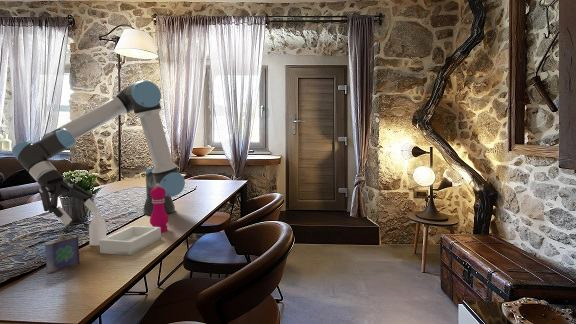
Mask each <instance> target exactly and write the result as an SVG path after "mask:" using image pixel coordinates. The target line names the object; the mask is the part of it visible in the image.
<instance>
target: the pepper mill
mask: <svg viewBox="0 0 576 324" xmlns="http://www.w3.org/2000/svg"><path fill="white" fill-rule="evenodd" d="M150 195H151V197H152V198H153V199H152V203H153V212H152V215H150V218H149V224H150V225H151V227H161V234H162V233H165V232H167V231H168V225H167V224H168V223H169V215H168V214H166V212H165V209H164V202H165V199H164V197H165V195H166V191H165V189H164V188H162V187H160V184H159V183H157V184H156V187H155V188H153V189H152V190H151V193H150Z"/></svg>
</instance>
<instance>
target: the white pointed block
mask: <svg viewBox="0 0 576 324" xmlns="http://www.w3.org/2000/svg"><path fill="white" fill-rule="evenodd" d="M88 231H89V232H88V233H89V246H100V242H99V240H101V239H103V238H106V237H107V222H106V221H105V219H104V218H103V217H102V214H101V211H100V212H98V213H96V215H94V217H93V218H92V219H91V222H90V223H89V225H88Z"/></svg>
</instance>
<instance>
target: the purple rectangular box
mask: <svg viewBox="0 0 576 324" xmlns="http://www.w3.org/2000/svg"><path fill="white" fill-rule="evenodd" d="M79 247H80V245H79V236H78V235H74V234H73V235H67V236H65V235H64V233H62V232H60V233H58V236H57V239H55V240H52V241H48V242H46V243H45V244H44V250H45V262H46V263H45V264H46V266H45V267H46V273H47V274H49V275H51V274H53V273H57V272H60V271H62V270H66V269H68V268H72V267H74V266H77V265H79V264H80V249H79Z"/></svg>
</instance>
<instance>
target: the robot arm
mask: <svg viewBox="0 0 576 324" xmlns="http://www.w3.org/2000/svg"><path fill="white" fill-rule="evenodd" d="M161 99H162V92H161V89H160V88H159V87H158V85H157V84H155V83H154V82H152V81H150V80H139V81H138V80H137V81H136V82H133V83H131V84H129V85H127V86H125V87H124V88H123V89H122V90H120V91H119V92H117V93H115V94H114V95H112V97H111V99H109V100H107V101H106V102H103V103H102V104H100V105H98V106H96V107H95V108H92V109H91V110H89V111H87V112H85V113H84V114H82V115H80V116H78V117H76V118H74V119H72V120H71V121H69V122H67V123H65V124H63V125H61V126H60V127H58V128H56V129H54V130H52V131H51V132H47V133H46V134H44V135H43V136H42V137H41V139H40V140H38V141H36V142H33V141H31V140H23V141H19V142H17V144H15V145H14V146H13V147H12V149H11V153H12V156H14V157H15V159H16V161H18V162H19V163H20V165H21V166H22V167H23V168H24V169H25V170H26V171H27V172H28V174H29V175H30V176H31V177H32V178H33V179H34V180H35V181H36V182H37V184H38V185H39V186H40V188H39V189H38V190H37V192H38V195H40V199H41V203H42V207H43V208H42V209H43V211H44V212H45V213H46V212H48V213H49V214H54V215H55V216H56V218H58V219H59V220H60V221H61V222H62V223H63V224H64V226H69V224H70V223H71V222H72V221H73V220H72V218H71V217H70V216H69V214H68V213H67V212H66V211H65V210H64V209H63V208H62V206H61V205H59V206H58V202H59V197H61V196H67V197H72V198H74V199H76V200H79V201H81V202H84V205H85V207H86V208H87V209H88V210H89V211H90V212H91V213H92V214H93V216H95V215H96V213H98V212H100V213H101V210H100V208H98V206H97V205H96V203H95V202H94V201H93V200H92V198H93V197H94V195H93V193H90V192H89V191H87V190H85V189H84V188H82V187H81V186H79V185H78V184H76V183H75V182H74V181H73V180H70V181H69V182H65V180H64V176H63V175H62V174H61V173H60V172H59V171H58V169H57V168H56V167H55V166H54V165H53V164H52V162H51V161H50V159H52V158H53V157H55V156H57V155H59V154H60V153H62V152H64V151H66V150H68V149H70V148H72V147H73V146H75V145H76V143H77V142H76V140H79V139H80V138H81V137H84V135H87V134H89V133H90V132H92V131H93V130H96V129H97V128H98V127H101V126H103V125H104V124H106V123H108V122H110V121H112V120H114V119H115V118H116V117H118V116H120V115H122V114H125V115H126V114H128V113H130V112H132V111H133V113H134V115H136V116H137V117H138V118H139V120H140V125H141V128H142V131H143V134H144V137H145V141H146V144H147V148H148V152H149V155H150V158H151V161H152V165H153V167H148V168H146V169H145V174H144V176H145V189H146V198H145V201H144V203H145V204H144V205H143V209H142V210H143V214H144V215H148V216H151V215H152V212H153V203H152V199H153V198H152V197H151V195H150V193H151V190H152V189H153V188H155V187H156V184H157V183H159V184H160V187H162V188H164V189H165V191H166V195H165V197H164V199H165V202H164V209H165V212H166V214H167V215H168V214H172V213H174V212H175V211H176V205H175V203H174V200H173V197H176V196H178V195H180V194H181V193H182V192H183V190H184V188H185V184H186V182H185V177H184V176H183V175H182V174H181V173H180V171H179V168H178V167H179V166H178V164H175V163H174V161H173V158H172V155H171V152H170V148H169V145H168V141H167V137H166V133H165V130H164V126H163V123H162V120H161V118H162V117H161V115H160V112H161V111H162V106H161V103H160V102H161Z"/></svg>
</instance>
